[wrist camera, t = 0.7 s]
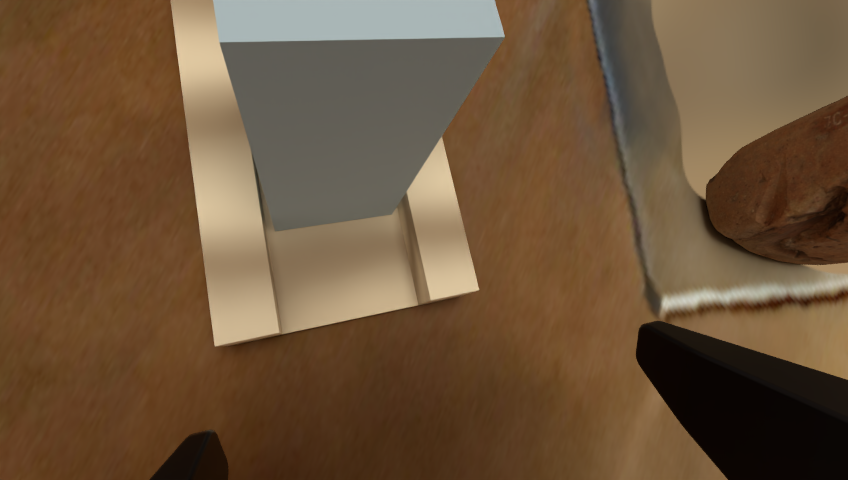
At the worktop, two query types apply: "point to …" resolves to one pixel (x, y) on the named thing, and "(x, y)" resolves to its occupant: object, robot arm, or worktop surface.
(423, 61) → the grey rectangular block
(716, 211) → the sweet potato
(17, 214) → the worktop surface
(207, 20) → the chute
